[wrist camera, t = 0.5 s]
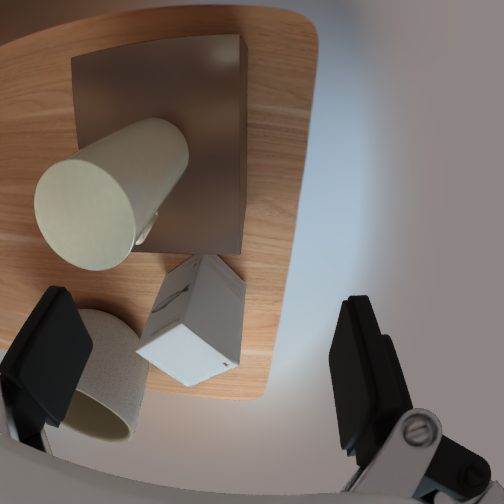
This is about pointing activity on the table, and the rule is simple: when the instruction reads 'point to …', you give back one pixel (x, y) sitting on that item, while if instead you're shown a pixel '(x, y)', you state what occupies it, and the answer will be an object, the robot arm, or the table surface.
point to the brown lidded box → (186, 120)
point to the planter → (108, 381)
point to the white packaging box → (196, 321)
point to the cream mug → (110, 193)
